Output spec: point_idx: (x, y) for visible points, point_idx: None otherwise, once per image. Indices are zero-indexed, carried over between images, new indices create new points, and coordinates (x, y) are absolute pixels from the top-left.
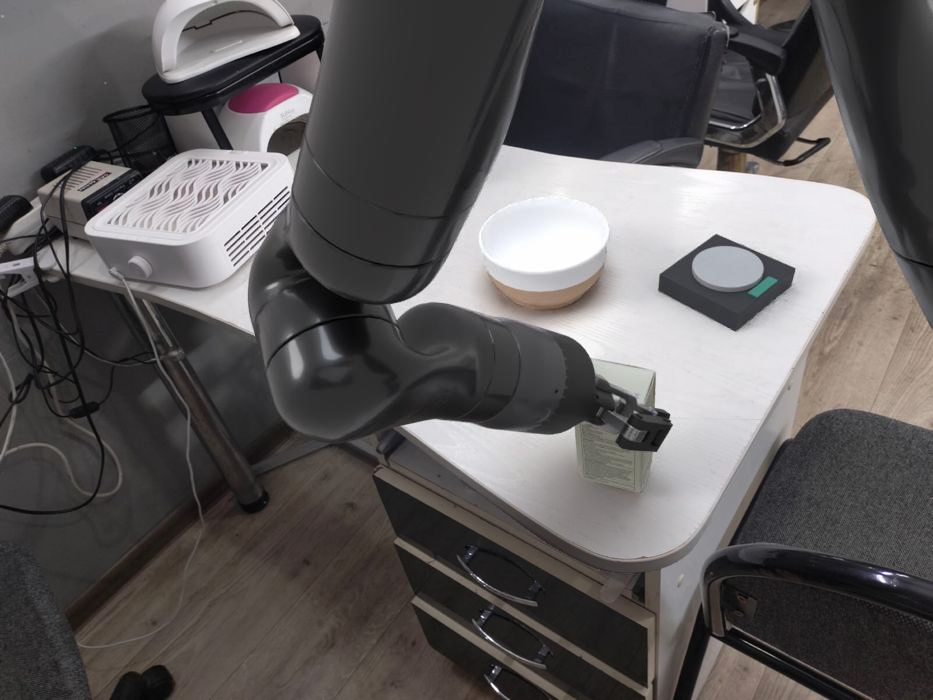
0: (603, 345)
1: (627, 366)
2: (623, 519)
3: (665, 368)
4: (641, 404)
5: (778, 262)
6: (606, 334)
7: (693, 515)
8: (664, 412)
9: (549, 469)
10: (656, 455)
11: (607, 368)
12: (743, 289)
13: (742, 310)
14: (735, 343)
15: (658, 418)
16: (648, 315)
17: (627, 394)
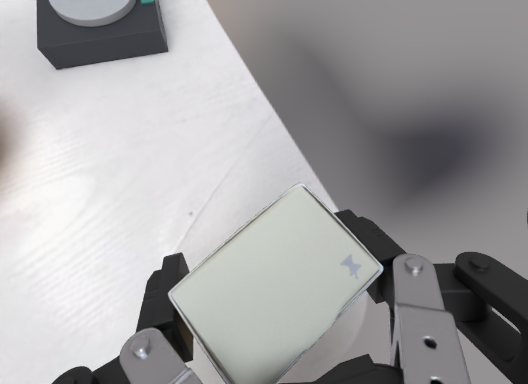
0: (82, 171)
1: (252, 225)
2: None
3: (164, 136)
4: (407, 283)
5: None
6: (69, 157)
7: None
8: (360, 221)
9: None
10: None
11: (234, 272)
12: (133, 2)
13: (158, 23)
14: (181, 62)
15: (500, 287)
16: (81, 101)
17: (459, 345)
